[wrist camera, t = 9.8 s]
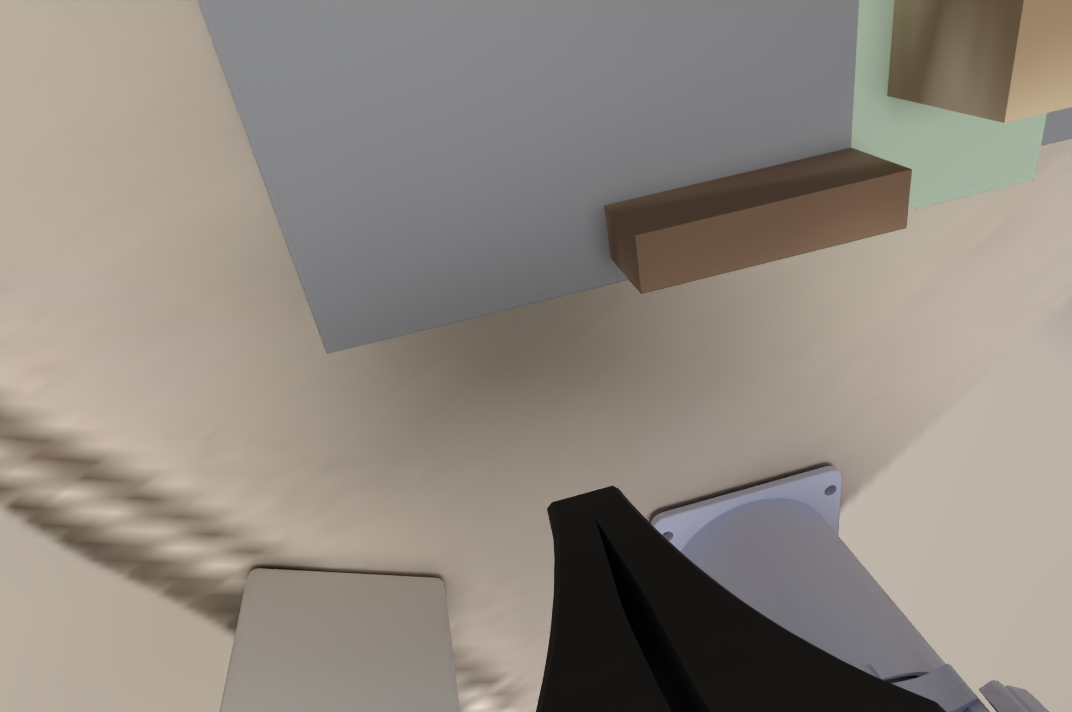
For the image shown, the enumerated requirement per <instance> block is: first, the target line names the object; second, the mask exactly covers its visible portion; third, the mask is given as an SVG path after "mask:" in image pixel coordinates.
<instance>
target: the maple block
mask: <svg viewBox="0 0 1072 712" xmlns="http://www.w3.org/2000/svg"><path fill="white" fill-rule="evenodd" d="M887 96H890V97H894V98H898V99H903V100H907V101H911V102H916V103H920V104H924V105H929V106H933V107H937V108H942V109H946V110H950V111H955V112H959V113H963V114H968V115H972V116H976V117H980V118H985V119H989V120H993V121H998V122H1002V123H1007V122H1011V121H1015V120H1019V119H1024V118H1028V117H1032V116H1036V115H1040V114H1045V113H1049V112H1053V111H1057V110H1061V109H1066V108H1070V107H1072V0H894V12H893V26H892V39H891V52H890V65H889V78H888V92H887Z"/></svg>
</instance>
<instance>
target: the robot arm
mask: <svg viewBox="0 0 1072 712" xmlns="http://www.w3.org/2000/svg"><path fill="white" fill-rule="evenodd" d="M841 482H842V475H841V473H840V472H839V471H838V470H837V469H836V468H835V467H834V466H825V467H822V468H818V469H815V470H811V471H808V472H804V473H800V474H797V475H793V476H790V477H786V478H783V479H779V480H775V481H772V482H768V483H765V484H761V485H758V486H754V487H751V488H747V489H743V490H740V491H736V492H733V493H729V494H726V495H722V496H719V497H715V498H711V499H708V500H704V501H701V502H697V503H694V504H690V505H686V506H683V507H679V508H676V509H672V510H669V511H665V512H662V513H659V514H657V515H656V516H655V517H654V518H653V519H652V521H651V524H650V523H649V522H648V521H647V520H646V519H645V518H644V517H643V516H642V514H641V513H640V512H639V511H638V510H637V509H636V508H635V507H634V506H633V505H632V504H631V503H630V502H629V500H628V499H627V498H626V497H625V496H624V495H623V493H622V492H621V491H620V490H619V489H618V488H616V487H614V486H610V487H606V488H603V489H599V490H595V491H592V492H588V493H585V494H581V495H577V496H574V497H570V498H566V499H563V500H559V501H555V502H552V503H551V504H550V506H549V507H548V508H547V510H548V515H549V520H550V525H551V529H552V534H553V539H554V556H555V565H554V599H553V610H552V621H551V631H550V639H549V647H548V653H547V659H546V665H545V671H544V677H543V682H542V686H541V691H540V696H539V700H538V705H537V710H536V712H989V710H988V709H987V708H986V707H985V706H984V704H983V703H982V702H981V701H980V700H979V699H978V697H977V696H976V695H975V694H974V693H973V691H972V690H971V689H970V688H969V687H968V686H967V684H966V683H965V682H964V681H963V679H962V678H961V677H960V676H959V675H958V674H957V672H956V671H955V670H954V669H953V668H952V666H951V665H949V664H945V663H944V662H943V660H942V659H941V658H940V657H939V656H938V655H937V653H936V652H935V651H934V650H933V649H932V647H931V646H930V645H929V644H928V643H927V642H926V640H925V639H924V638H923V637H922V635H921V634H920V633H919V632H918V631H917V629H916V628H915V627H914V626H913V625H912V623H911V622H910V621H909V620H908V619H907V617H906V616H905V615H904V614H903V613H902V612H901V610H900V609H899V608H898V607H897V606H896V604H895V603H894V602H893V601H892V600H891V598H890V597H889V596H888V595H887V594H886V592H885V591H884V590H883V589H882V588H881V587H880V585H879V584H878V583H877V582H876V581H875V579H874V578H873V577H872V576H871V575H870V574H869V572H868V571H867V570H866V569H865V567H864V566H863V565H862V564H861V563H860V562H859V560H858V559H857V558H856V557H855V556H854V554H853V553H852V552H851V551H850V550H849V548H848V547H847V546H846V545H845V544H844V542H843V541H842V540H841V539H840V538H839V537H838V529H839V514H840V498H841ZM828 486H829V487H828ZM827 487H828V488H827ZM665 532H668V533H667V534H665V535H663V533H665ZM979 691H980V692H981V693H982V694H983V696H984V697H985V698H986V699H987V700H988V702H989V703H990V704H991V705H992V706H993V708H994V709H995V710H996V711H997V712H1049V711H1048V710H1047V709H1046V708H1045V707H1044V706H1043V705H1042V704H1041V703H1040V702H1039V701H1038V700H1037V699H1036V698H1034V697H1033V696H1032V695H1031V694H1030V693H1029V692H1028V691H1026V690H1025V689H1021V688H1016V687H1013V686H1004V685H1002V684H1001V683H1000V682H998V681H994V680H993V681H990V682H989V683H987V684H986V685H984V686H983V687H982V688H980V689H979Z"/></svg>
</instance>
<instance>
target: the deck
mask: <svg viewBox="0 0 1072 712" xmlns="http://www.w3.org/2000/svg"><path fill="white" fill-rule="evenodd" d="M198 3H199V6H200V8H201V11H202V14H203V17H204V19H205V22H206V25H207V28H208V30H209V33H210V36H211V39H212V41H213V44H214V47H215V50H216V52H217V55H218V58H219V60H220V63H221V66H222V69H223V71H224V74H225V77H226V80H227V82H228V85H229V88H230V91H231V93H232V96H233V99H234V101H235V104H236V107H237V110H238V112H239V115H240V118H241V121H242V123H243V126H244V129H245V132H246V134H247V137H248V140H249V142H250V145H251V148H252V151H253V153H254V156H255V159H256V162H257V164H258V167H259V170H260V173H261V175H262V178H263V181H264V183H265V186H266V189H267V192H268V194H269V197H270V200H271V203H272V205H273V208H274V211H275V214H276V216H277V219H278V222H279V224H280V227H281V230H282V233H283V235H284V238H285V241H286V244H287V246H288V249H289V252H290V255H291V257H292V260H293V263H294V265H295V268H296V271H297V274H298V276H299V279H300V282H301V285H302V287H303V290H304V293H305V296H306V298H307V301H308V304H309V306H310V309H311V312H312V315H313V317H314V320H315V323H316V326H317V328H318V331H319V334H320V337H321V339H322V342H323V345H324V347H325V350H326V353H327V354H328V353H332V352H336V351H340V350H344V349H348V348H352V347H356V346H360V345H364V344H368V343H372V342H377V341H381V340H385V339H389V338H393V337H397V336H401V335H405V334H409V333H413V332H417V331H421V330H425V329H429V328H434V327H438V326H442V325H446V324H450V323H454V322H458V321H462V320H466V319H470V318H474V317H478V316H482V315H486V314H490V313H495V312H499V311H503V310H507V309H511V308H515V307H519V306H523V305H527V304H531V303H535V302H539V301H543V300H547V299H551V298H556V297H560V296H564V295H568V294H572V293H576V292H580V291H584V290H588V289H592V288H596V287H600V286H604V285H608V284H612V283H617V282H621V281H625V280H629V279H628V278H627V277H626V276H625V274H624V273H623V272H622V271H621V270H620V269H619V267H618V266H617V265H616V264H615V263H614V262H613V260H612V259H611V257H610V249H609V241H608V233H607V225H606V216H605V208H604V205H608V204H612V203H617V202H621V201H625V200H629V199H634V198H638V197H642V196H646V195H651V194H655V193H659V192H663V191H668V190H672V189H676V188H681V187H685V186H689V185H693V184H698V183H702V182H706V181H710V180H715V179H719V178H723V177H727V176H732V175H736V174H740V173H745V172H749V171H753V170H757V169H762V168H766V167H770V166H774V165H779V164H783V163H787V162H791V161H796V160H800V159H804V158H809V157H813V156H817V155H821V154H826V153H830V152H834V151H838V150H843V149H847V148H854V149H857V150H859V151H862V152H865V153H868V154H871V155H873V156H876V157H879V158H882V159H885V160H887V161H890V162H893V163H896V164H899V165H902V166H904V167H907V168H910V169H912V176H911V186H910V196H909V206H908V211H909V210H914V209H918V208H922V207H926V206H930V205H934V204H938V203H942V202H946V201H950V200H954V199H958V198H962V197H966V196H970V195H975V194H979V193H983V192H987V191H991V190H995V189H999V188H1003V187H1007V186H1011V185H1015V184H1019V183H1023V182H1027V181H1031V180H1034V179H1035V174H1036V169H1037V163H1038V158H1039V153H1040V147H1041V146H1042V145H1047V144H1051V143H1055V142H1059V141H1063V140H1067V139H1071V138H1072V107H1070V108H1066V109H1061V110H1057V111H1053V112H1049V113H1045V114H1040V115H1036V116H1032V117H1028V118H1024V119H1019V120H1015V121H1011V122H1007V123H1002V122H998V121H993V120H989V119H985V118H980V117H976V116H972V115H968V114H963V113H959V112H955V111H950V110H946V109H942V108H937V107H933V106H929V105H924V104H920V103H916V102H911V101H907V100H903V99H898V98H894V97H890V96H887V92H888V78H889V65H890V52H891V39H892V26H893V12H894V0H198Z"/></svg>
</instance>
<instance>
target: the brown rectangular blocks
mask: <svg viewBox="0 0 1072 712" xmlns="http://www.w3.org/2000/svg"><path fill="white" fill-rule="evenodd" d="M911 176H912V169H910V168H907V167H904V166H902V165H899V164H896V163H893V162H890V161H887V160H885V159H882V158H879V157H876V156H873V155H871V154H868V153H865V152H862V151H859V150H857V149H854V148H847V149H843V150H838V151H834V152H830V153H826V154H821V155H817V156H813V157H809V158H804V159H800V160H796V161H791V162H787V163H783V164H779V165H774V166H770V167H766V168H762V169H757V170H753V171H749V172H745V173H740V174H736V175H732V176H727V177H723V178H719V179H715V180H710V181H706V182H702V183H698V184H693V185H689V186H685V187H681V188H676V189H672V190H668V191H663V192H659V193H655V194H651V195H646V196H642V197H638V198H634V199H629V200H625V201H621V202H617V203H612V204H608V205H604V208H605V216H606V225H607V233H608V241H609V249H610V257H611V259H612V260H613V262H614V263H615V264H616V265H617V266H618V267H619V269H620V270H621V271H622V272H623V273H624V274H625V276H626V277H627V278H628V279H629V280H630V281H631V283H632V284H633V285H634V286H635V287H636V288H637V290H638V291H639V292H640V293H641V294H643V293H647V292H651V291H655V290H659V289H663V288H667V287H671V286H675V285H679V284H683V283H687V282H691V281H695V280H699V279H703V278H707V277H711V276H715V275H719V274H723V273H727V272H731V271H735V270H739V269H743V268H747V267H751V266H755V265H759V264H764V263H768V262H772V261H776V260H780V259H784V258H788V257H792V256H796V255H800V254H804V253H808V252H812V251H816V250H820V249H824V248H828V247H832V246H836V245H840V244H844V243H848V242H852V241H856V240H860V239H864V238H868V237H872V236H876V235H880V234H884V233H888V232H892V231H896V230H900V229H904V228H906V226H907V216H908V206H909V196H910V186H911Z"/></svg>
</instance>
